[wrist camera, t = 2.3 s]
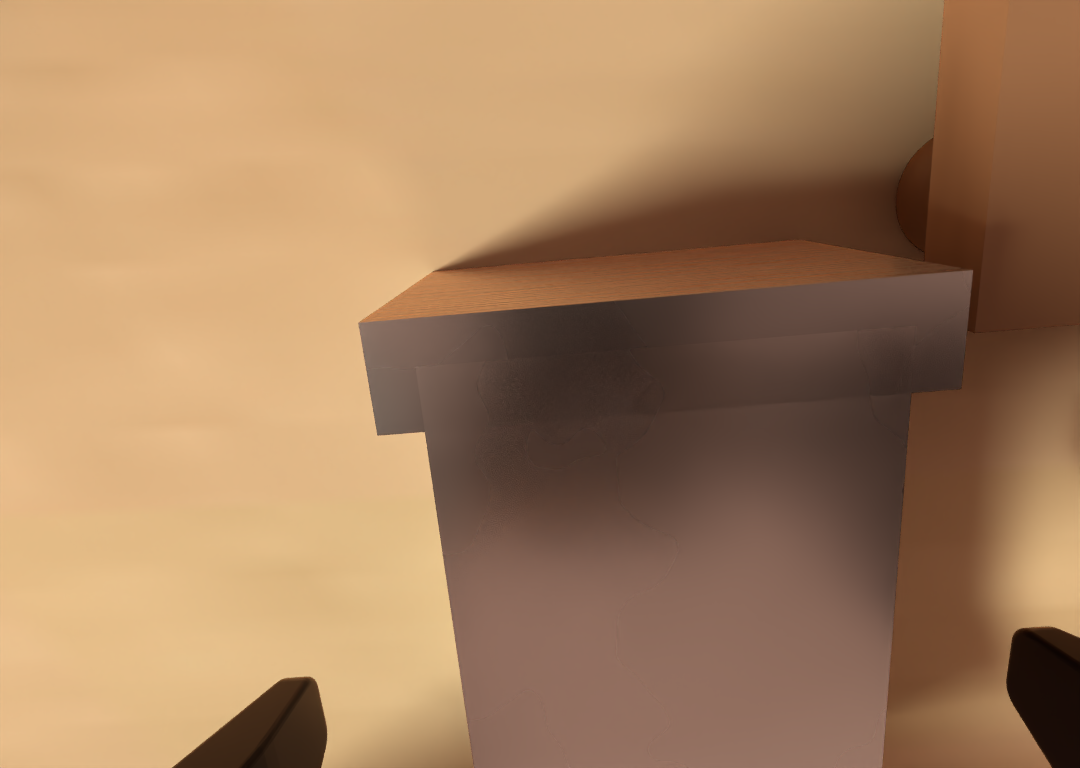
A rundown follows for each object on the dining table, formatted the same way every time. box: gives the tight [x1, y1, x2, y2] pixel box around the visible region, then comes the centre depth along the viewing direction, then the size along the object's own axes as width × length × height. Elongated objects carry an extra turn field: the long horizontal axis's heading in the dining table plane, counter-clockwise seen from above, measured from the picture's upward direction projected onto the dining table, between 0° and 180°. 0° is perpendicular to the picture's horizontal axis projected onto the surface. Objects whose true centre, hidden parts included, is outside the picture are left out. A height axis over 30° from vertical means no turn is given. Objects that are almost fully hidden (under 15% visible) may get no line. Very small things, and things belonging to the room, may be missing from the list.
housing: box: [359, 239, 973, 768], centre depth 10 cm, size 10×6×4 cm, turn 5°
